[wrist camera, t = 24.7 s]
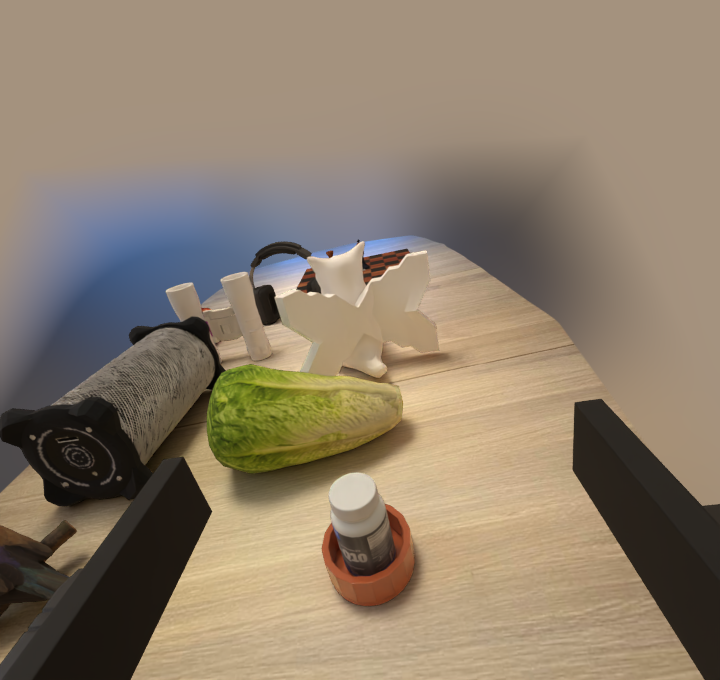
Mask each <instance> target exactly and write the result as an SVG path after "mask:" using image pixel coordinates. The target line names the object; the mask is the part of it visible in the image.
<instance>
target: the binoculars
mask: <svg viewBox="0 0 720 680" xmlns="http://www.w3.org/2000/svg"><path fill="white" fill-rule="evenodd" d="M221 283H222V285H223V288H224V291H225V294H226V296H227V298H228V300H229V302H230V304H231V306H230V307H228V308H224V309H220V310H205V311H203V313H204V314H202V309H201V305H200V301H199V298H198V296H197V293H196V290H195V288H194V285H193V283H186V284H181V285H177V286H175V287H172V288H169V289H167V290H166V294H167V296H168V298H169V301H170V303H171V305H172V307H173V309H174V311H175V312H176V314H177V316H178V317H179V319H180V320H181V322H182V321H184V320H186V319H188V318H190V317H191V316H194V317H200V318H201V319H203V320H204V321H207V322H208V325H209V327H210V330H211V332H212V335H213V337H212V336H211V333H210V339H211V342H212V343H213V345H214V346H215V348H216V345H215V343H218V342H220V340H222V341H229V340H234V339H238V338H239V337H241V336H243V337H244V339H245V343H246V346H247V350H248V353H249V354H250V357H251V359H252V360H253V361H259V360H263V359H265V358H268V357H269V356H270V355H271V354H272V351H271V346H270V343H269V340H268V339H267V336H266V334H265V331H264V328H263V325H262V322H261V319H260V315H259V313H258V310H257V307H256V304H255V298H254V293H253V288H252V285H251V282H250V279H249V276H248V273H247V272H241V273H236V274H232V275H229V276H226V277H224V278H222V279H221ZM234 314H235V315H234ZM203 315H204V316H205V317H204V316H203ZM231 315H232V316H231ZM216 350H217V353H218V355H219V360H220V363H221V362H222V360H221V358H220V353H219V351H218V349H217V348H216Z"/></svg>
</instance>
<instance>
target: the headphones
mask: <svg viewBox="0 0 720 680" xmlns="http://www.w3.org/2000/svg"><path fill="white" fill-rule="evenodd" d="M279 253H287V254H296V253H297V255H299V256H301V257H302V258H304V259H307V257H312V256H311V254H312V253H310V252H309V251H308V250H306V249H304V248H302V247H301V245H299V244H296V243H292V242H276V243H272V244H270V245H268V246H266V247H264V248H262V249H261V250H259V251H258V252H257V253H256V258H255V259H254V261H253V262H252V263H251V267H252V268H251V271H250V275H249V279H250V282H251V285H252V286H253V287H252V288H253V293H254V298H255V304H256V307H257V310H258V313H259V315H260V319H261V322H262V324H270V323H274V322H275V321H276V320H277V319H278V318H279V317H280V314H279V311H278V308H277V305H276V301H275V298H274V297H276V295H275V292H274V289H273V287H272V286H271V285H263V286H261V287H256V288H255V286H254V283H253V272H254V269H255V267H257V266H258V265H260V263H261V261H262V259H266V258H268V257H269V256H272V255H274V254H279ZM306 290H307V293H309V292H316V293H320V294H321V287H320V286H319V284H318V282H317V280H316V278H312V279H311V280H310V281H309V282H308V283H307V285H306Z"/></svg>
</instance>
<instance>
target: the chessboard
mask: <svg viewBox="0 0 720 680" xmlns="http://www.w3.org/2000/svg"><path fill="white" fill-rule="evenodd" d="M357 242H358V243H357V244H359V243H360V242H359V240H358V241H357ZM326 254H327V255H328V257H329V258H331V257H332V256H333V251H328V252H326ZM406 254H410V252H409V251H408V249H403V250H398V251H393V252H389V253H384V254H379V255H374V256H369V257H364V258H363V256H362V268H363V280H364V282H365V284H366V286H367V284H368V283H369V282H370V280H371V279H372V278H378V277H381V276H382V275H383V274H384V273H385V271H386V270H387V269H388V267H391V266H396V265H399V264H400V262H401V261H402V260H403V258H404V257H405V256H406ZM363 255H364V251H363ZM315 275H316V273H315V272H314V271H313V269H312V268H310V269H307V270H306V272H305V274H304V276H303V277H302V279H301V281H300V283H299V285H298V287H297V289H296V290H301V291H302V292H304V293H306V294H307V290H306V285H307V283H308V282H309V281H310V280H311V279H312V278H316V276H315Z"/></svg>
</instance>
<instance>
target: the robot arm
mask: <svg viewBox="0 0 720 680" xmlns="http://www.w3.org/2000/svg"><path fill="white" fill-rule="evenodd" d="M573 471H574V473H575V474H576V476H577V478H578V479H579V481H580V482H581V484H582V486H583V487H584V489H585V490H586V492H587V494H588V495H589V497H590V498H591V500H592V501H593V503H594V505H595V506H596V508H597V509H598V511H599V513H600V514H601V516H602V517H603V519H604V521H605V522H606V524H607V525H608V527H609V528H610V530H611V532H612V533H613V535H614V536H615V538H616V540H617V541H618V543H619V544H620V546H621V548H622V549H623V551H624V552H625V554H626V555H627V557H628V559H629V560H630V562H631V563H632V565H633V567H634V568H635V570H636V571H637V573H638V575H639V576H640V578H641V579H642V581H643V582H644V584H645V586H646V587H647V589H648V590H649V592H650V594H651V595H652V597H653V598H654V600H655V602H656V603H657V605H658V606H659V608H660V610H661V611H662V613H663V614H664V616H665V617H666V619H667V621H668V622H669V624H670V625H671V627H672V629H673V630H674V632H675V633H676V635H677V637H678V638H679V640H680V641H681V643H682V644H683V646H684V648H685V649H686V651H687V652H688V654H689V656H690V657H691V659H692V660H693V662H694V664H695V665H696V667H697V668H698V670H699V671H700V673H701V675H702V676H703V678H704V679H705V680H720V504H718V505H707V506H702V505H701V504H700V503H699V502H698V501H697V500H696V499H695V498H694V497H693V496H692V495H691V494H690V493H689V491H687V489H686V488H685V487H684V486H683V485H682V484H681V483H680V482H679V481H678V480H677V479H676V478H675V477H674V476H673V474H672V473H671V472H670V471H669V470H668V469H667V468H666V467H665V466H664V465H663V464H662V463H661V462H660V461H659V460H658V459H657V457H656V456H655V455H654V454H653V453H652V452H651V451H650V450H649V449H648V448H647V447H646V446H645V445H644V444H643V443H642V442H641V441H640V439H639V438H638V437H637V436H636V435H635V434H634V433H633V432H632V431H631V430H630V429H629V428H628V427H627V426H626V425H625V424H624V422H623V421H622V420H621V419H620V418H619V417H618V416H617V415H616V414H615V413H614V412H613V411H612V410H611V409H610V408H609V407H608V406H607V404H606V403H605V402H604V401H603V400H602V399H596V400H589V401H582V402H575V407H574V440H573ZM211 513H212V510H211V508H210V507H209V505H208V503H207V501H206V499H205V497H204V495H203V493H202V491H201V489H200V488H199V486H198V484H197V482H196V480H195V478H194V476H193V474H192V472H191V470H190V468H189V467H188V465H187V463H186V461H185V459H184V457H178V458H171V459H164V460H163V461H162V462H161V464H160V465H159V466H158V468H157V469H156V471H155V472H154V473H153V475H152V476H151V477H150V479H149V480H148V481H147V483H146V484H145V485H144V487H143V488H142V490H141V491H140V492H139V494H138V495H137V496H136V498H135V499H134V500H133V502H132V503H131V504H130V506H129V507H128V509H127V510H126V511H125V513H124V514H123V515H122V517H121V518H120V519H119V521H118V522H117V524H116V525H115V526H114V528H113V529H112V530H111V532H110V533H109V534H108V536H107V537H106V538H105V540H104V541H103V543H102V544H101V545H100V547H99V548H98V549H97V551H96V552H95V553H94V555H93V556H92V557H91V559H90V560H89V562H88V563H87V564H86V566H85V567H84V568H83V569H78V570H77V571H76V572H75V573H74V574H73V575H72V576H71V577H69V578H68V579H67V580H66V581H65V582H64V583H63V584H62V585H61V586H60V587H59V588H58V589H57V590H56V592H55V593H54V594H53V596H52V597H51V598H50V600H49V601H48V602H47V603H46V605H45V606H44V607H43V609H42V613H41V614H38V615H37V617H36V618H35V619H34V621H33V622H32V623H31V624H30V626H29V627H28V628H29V629H28V631H27V632H24V634H23V635H22V636H21V638H20V639H19V640H18V642H17V643H16V644H15V645H14V647H13V648H12V649H11V651H10V652H9V653H8V655H7V656H6V657H5V659H4V660H3V661H2V663H1V664H0V680H131V678H132V676H133V673H134V671H135V669H136V667H137V665H138V663H139V661H140V659H141V657H142V655H143V653H144V651H145V649H146V647H147V645H148V643H149V641H150V638H151V636H152V634H153V632H154V630H155V628H156V626H157V624H158V622H159V620H160V618H161V616H162V614H163V612H164V610H165V608H166V606H167V603H168V601H169V599H170V597H171V595H172V593H173V591H174V589H175V587H176V585H177V583H178V581H179V579H180V577H181V575H182V573H183V571H184V569H185V566H186V564H187V562H188V560H189V558H190V556H191V554H192V552H193V550H194V548H195V546H196V544H197V542H198V540H199V538H200V536H201V534H202V531H203V529H204V527H205V525H206V523H207V521H208V519H209V517H210V515H211Z"/></svg>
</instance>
